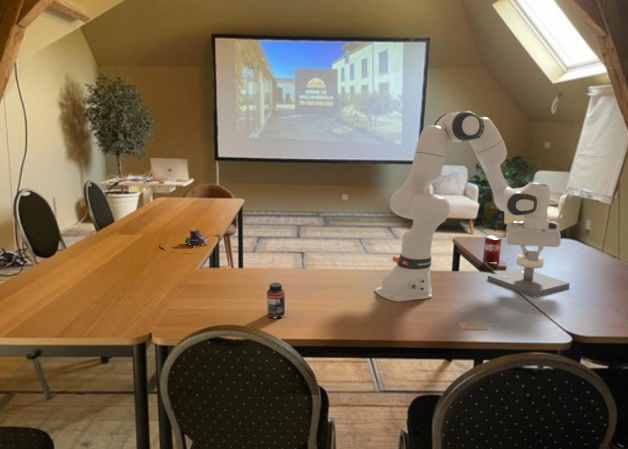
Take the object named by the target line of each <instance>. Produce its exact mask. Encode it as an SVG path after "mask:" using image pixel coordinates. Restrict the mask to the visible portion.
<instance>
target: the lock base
mask: <svg viewBox="0 0 628 449" xmlns="http://www.w3.org/2000/svg"><path fill="white" fill-rule="evenodd" d="M487 281H489V282H492V283H495V284H497V285H500V286H503V287H505V288H508V289H511V290H513V291H516V292H519V293H522V294H525V295H527V294H528V295H527V296H529V295H530V297H532V296H533V297H532V298H535V296H536V297H539V296H538V295H540V296H543V294H544V295H547V294H550V293H555V292H559V291H562V290H565V289H566V290H567V289H570V282H568V281H565V280H562V279H558V278H555V277H552V276H549V275H546V274H542V273H539V272H537V271H536V272H535V268H527V267H522V268H521V267H520V268H516V269H512V270H508V271H504V272H498V273H494V274H490V275H487Z"/></svg>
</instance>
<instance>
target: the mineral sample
mask: <svg viewBox="0 0 628 449" xmlns="http://www.w3.org/2000/svg"><path fill="white" fill-rule="evenodd" d="M189 234H190V235H189V236H190V237H186V240H185V243H187V244H191V245H192V246H198V245H200V244H208V245H209V242H208V241H209V240H208V235H207V236H206V235H205V236H202V234H200V229H191V230H189ZM185 243H184V244H185ZM192 246H191V247H192ZM200 246H201V245H200Z"/></svg>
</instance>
